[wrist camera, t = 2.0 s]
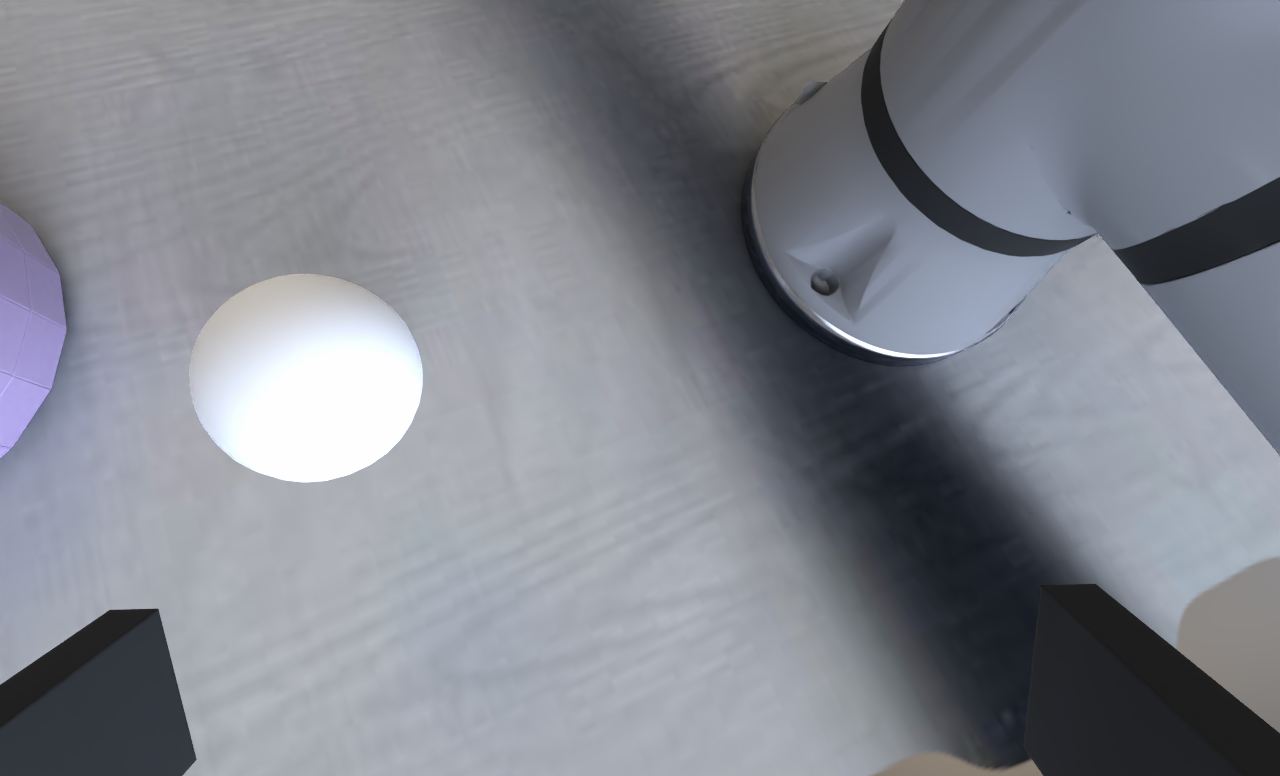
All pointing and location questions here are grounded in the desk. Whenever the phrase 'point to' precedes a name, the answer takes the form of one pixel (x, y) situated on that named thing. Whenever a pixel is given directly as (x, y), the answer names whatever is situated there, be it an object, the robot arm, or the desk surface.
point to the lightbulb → (305, 377)
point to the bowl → (26, 325)
